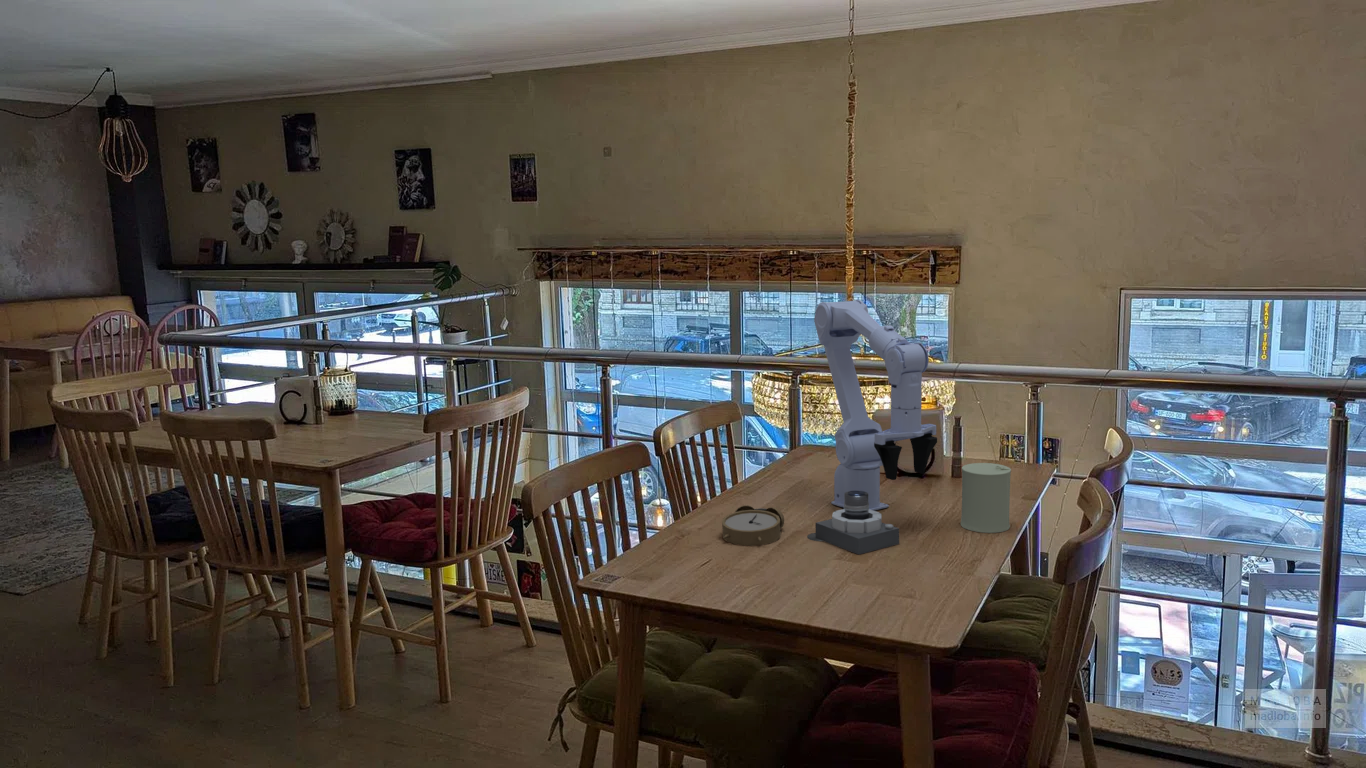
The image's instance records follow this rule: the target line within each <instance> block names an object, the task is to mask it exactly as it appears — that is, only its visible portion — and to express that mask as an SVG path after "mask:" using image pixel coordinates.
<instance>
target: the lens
mask: <svg viewBox="0 0 1366 768" xmlns="http://www.w3.org/2000/svg"><path fill="white" fill-rule="evenodd" d="M844 500H845V502H844V508H843V509H844V510H845V518H846V519H849V520H865V519H869V502H868V493H867V492H864V491H848V492H845V493H844Z"/></svg>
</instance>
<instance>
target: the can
mask: <svg viewBox="0 0 1366 768" xmlns="http://www.w3.org/2000/svg"><path fill="white" fill-rule="evenodd" d="M1011 474H1012V469H1011V467H1009V466H1006V465H1004V464H999V463H990V462H974V463H968V464H964V465H963V466H962V467H961V477H962V479H961V516H960V517H961V519H960V526H961V528H963V529H965V530H968V531H971V532H977V533H982V534H985V533H986V534H995V533H997V534H998V533H1003V532H1006V531H1009V529H1010V528H1011V525H1010V504H1011V503H1010V502H1011V501H1010V500H1011V499H1010V495H1011V493H1010V492H1011Z"/></svg>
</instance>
